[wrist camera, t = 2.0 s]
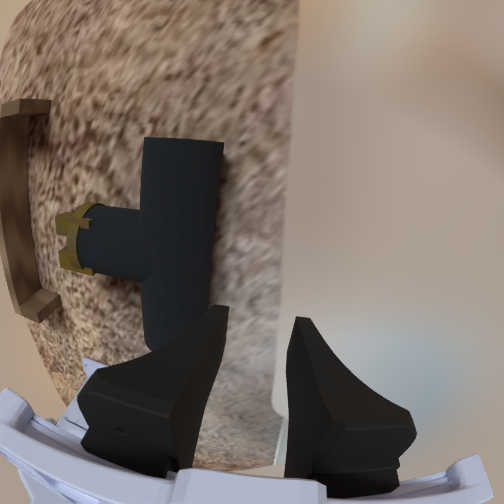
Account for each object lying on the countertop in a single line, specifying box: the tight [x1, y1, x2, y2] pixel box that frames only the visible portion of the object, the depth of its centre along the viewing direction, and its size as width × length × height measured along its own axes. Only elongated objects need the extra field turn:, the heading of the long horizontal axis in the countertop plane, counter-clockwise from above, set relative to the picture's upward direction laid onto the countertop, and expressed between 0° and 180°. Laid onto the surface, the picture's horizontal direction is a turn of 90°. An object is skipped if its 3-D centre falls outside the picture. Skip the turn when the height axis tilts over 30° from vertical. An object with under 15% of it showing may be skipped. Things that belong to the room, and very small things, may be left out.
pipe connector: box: [55, 137, 224, 351], centre depth 19 cm, size 12×5×15 cm
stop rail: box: [0, 99, 61, 324], centre depth 20 cm, size 20×4×4 cm, turn 173°
